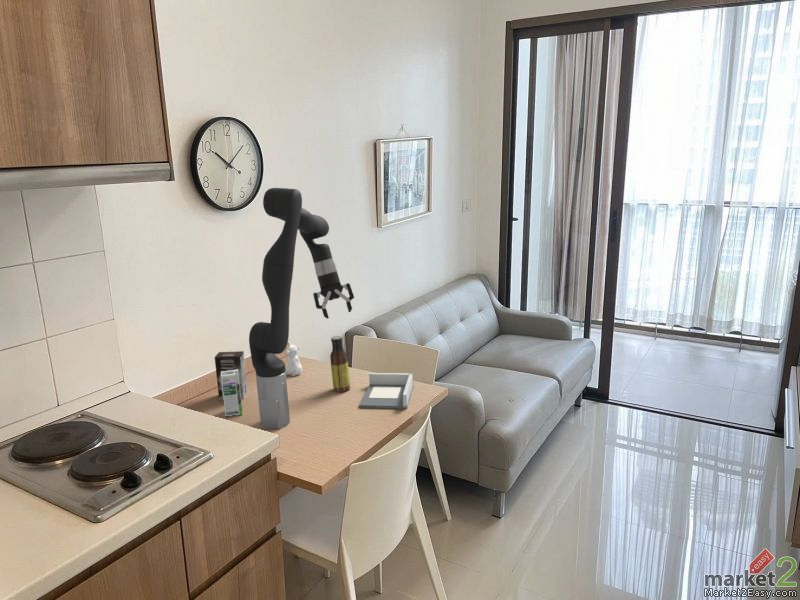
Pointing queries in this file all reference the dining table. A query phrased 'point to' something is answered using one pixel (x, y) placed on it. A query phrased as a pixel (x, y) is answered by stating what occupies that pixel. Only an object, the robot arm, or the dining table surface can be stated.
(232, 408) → the syrup box
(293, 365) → the sitting furry creature
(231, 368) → the coffee box
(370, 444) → the dining table surface
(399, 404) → the grey tray
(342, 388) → the sauce bottle
